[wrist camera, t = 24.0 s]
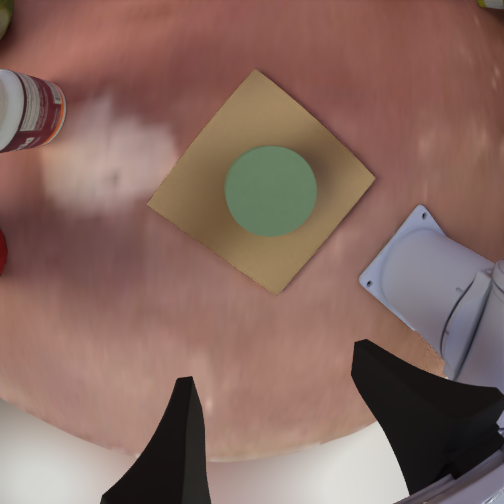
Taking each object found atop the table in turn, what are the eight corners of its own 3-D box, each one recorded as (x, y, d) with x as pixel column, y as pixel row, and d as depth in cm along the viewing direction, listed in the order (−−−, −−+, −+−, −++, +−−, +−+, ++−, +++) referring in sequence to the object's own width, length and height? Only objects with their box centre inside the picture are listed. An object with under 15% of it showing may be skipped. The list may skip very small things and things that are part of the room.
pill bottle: (13, 149, 17) (-64, 164, 9) (19, 85, 15) (-56, 74, 7) (65, 146, 18) (-8, 157, 10) (72, 78, 16) (4, 54, 8)
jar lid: (325, 185, 20) (335, 189, 19) (270, 245, 21) (276, 254, 20) (263, 127, 18) (268, 126, 17) (206, 193, 19) (206, 198, 18)
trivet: (372, 177, 21) (376, 178, 21) (275, 292, 23) (276, 296, 23) (254, 70, 18) (255, 68, 17) (148, 203, 20) (146, 205, 19)
